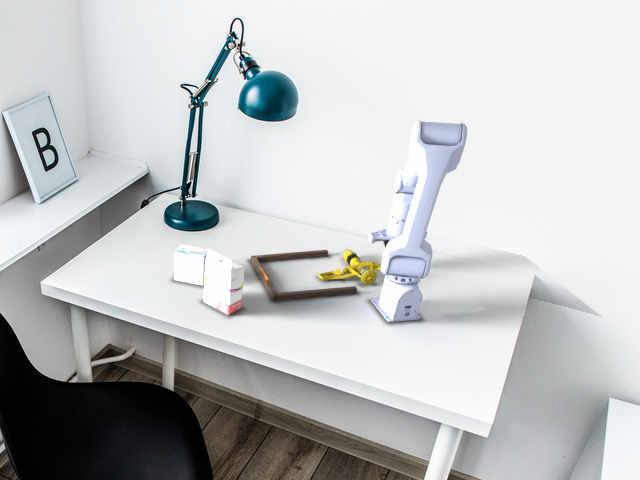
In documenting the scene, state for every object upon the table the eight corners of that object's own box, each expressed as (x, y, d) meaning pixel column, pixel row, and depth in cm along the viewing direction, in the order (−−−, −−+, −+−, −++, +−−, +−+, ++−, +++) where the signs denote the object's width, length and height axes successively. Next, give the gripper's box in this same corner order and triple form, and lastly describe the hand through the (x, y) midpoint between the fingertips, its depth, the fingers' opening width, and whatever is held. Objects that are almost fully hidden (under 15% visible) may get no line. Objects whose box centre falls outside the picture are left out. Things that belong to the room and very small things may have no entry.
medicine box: (208, 278, 169) (210, 248, 164) (202, 286, 166) (204, 256, 161) (180, 272, 172) (180, 243, 167) (173, 280, 168) (174, 250, 163)
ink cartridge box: (242, 308, 157) (247, 254, 149) (228, 316, 155) (232, 261, 146) (216, 294, 163) (220, 241, 154) (202, 301, 160) (205, 248, 151)
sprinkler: (376, 239, 174) (403, 265, 162) (375, 252, 177) (402, 279, 164) (305, 254, 174) (327, 281, 162) (305, 267, 176) (327, 295, 164)
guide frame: (356, 293, 162) (357, 287, 160) (273, 300, 160) (274, 294, 159) (325, 254, 178) (327, 248, 177) (250, 260, 176) (251, 254, 175)
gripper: (422, 207, 166) (409, 254, 174) (367, 211, 165) (357, 259, 173) (436, 219, 160) (422, 267, 168) (379, 224, 159) (368, 272, 167)
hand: (390, 264), depth 170 cm, fingers closed
